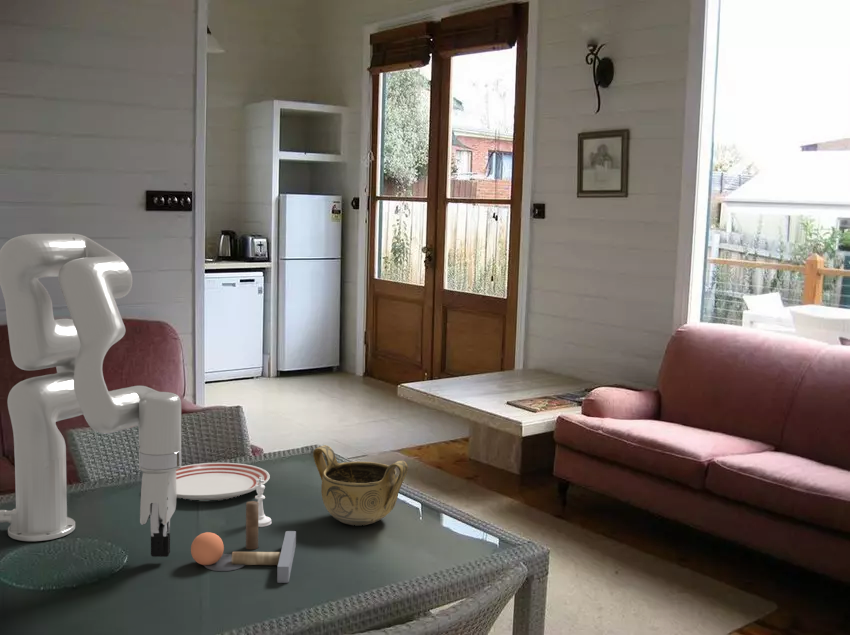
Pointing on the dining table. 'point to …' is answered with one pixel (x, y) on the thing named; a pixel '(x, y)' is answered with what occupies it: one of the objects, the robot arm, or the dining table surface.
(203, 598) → the dining table surface
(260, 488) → the chess piece
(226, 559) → the pin spot
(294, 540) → the back wall
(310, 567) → the dining table surface
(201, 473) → the dinner plate
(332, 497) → the ceramic bowl
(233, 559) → the beech pin
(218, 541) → the ball
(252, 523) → the walnut pin
